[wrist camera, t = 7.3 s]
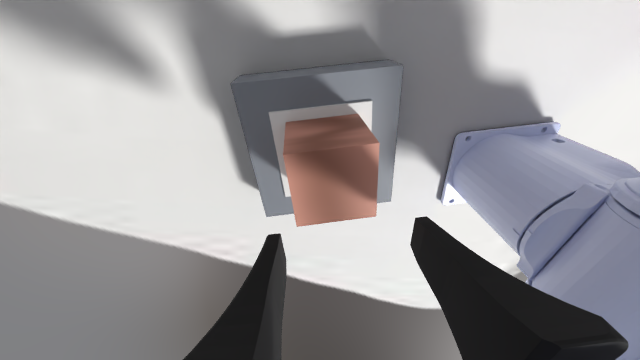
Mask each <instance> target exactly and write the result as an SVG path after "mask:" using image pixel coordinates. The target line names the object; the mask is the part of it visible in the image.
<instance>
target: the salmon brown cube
mask: <svg viewBox="0 0 640 360" xmlns="http://www.w3.org/2000/svg"><path fill="white" fill-rule="evenodd" d="M379 144H380V143H379V142H378V140H377V139H376V137H375V136H374V135H373V133H372V132H371V131H370V129H369V128H368V127H367V125H366V124H365V122H364V121H363V120H362V118H361V117H360V116H359V114H350V115H341V116H333V117H325V118H316V119H308V120H299V121H291V122H286V124H285V136H284V148H283V158H284V163H285V168H286V173H287V178H288V183H289V189H290V194H291V199H292V204H293V209H294V215H295V220H296V225H297V227H298V226H306V225H314V224H321V223H329V222H336V221H344V220H352V219H359V218H367V217H375V216H376V210H377V188H378V166H379Z"/></svg>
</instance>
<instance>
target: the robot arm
mask: <svg viewBox="0 0 640 360" xmlns="http://www.w3.org/2000/svg"><path fill="white" fill-rule="evenodd" d="M559 129H560V124H559V123H557V122H548V123H540V124H531V125H523V126H514V127H506V128H497V129H489V130H480V131H472V132H463V133H459V134H458V135H457V136H456V138H455V141H454V145H453V150H452V154H451V158H450V163H449V167H448V171H447V175H446V180H445V184H444V188H443V193H442V197H441V203H442V204H443V205H452V204H460V203H468V204H469V205H470V206H471V207H472V208H473V209H474V210H475V211H476V212H477V213H478V214H479V215H480V216H481V217H482V218H483V219H484V220H485V221H486V222H487V223H488V224H489V225H490V226H491V227H492V228H493V229H494V230H495V231H496V232H497V233H498V234H499V235H500V236H501V237H502V238H503V239H504V241H505V242H506V243H507V244H508V245H509V246H510V247H511V248H512V249H513V250H514V251H515V252H516V253H517V254H518V255H519V256H520V260H519V262H518V264H517V267H518V268H519V269H520V270H521V271H522V272H523V273H524V274H525V275H526V276H527V277H528V279H527V280H526V282H523V281H521V280H519V279H517V278H515V277H513V276H512V275H510V274H508V273H506V272H504V271H503V270H501V269H499V268H498V267H496V266H494V265H493V264H491V263H489V262H488V261H486V260H485V259H483V258H482V257H480V256H479V255H477V254H476V253H474V252H473V251H471V250H470V249H469V248H467V247H466V246H464V245H463V244H462V243H460V242H459V241H458V240H456V239H455V238H454V237H452V236H451V235H450V234H448V233H447V232H446V231H445V230H443V229H442V228H441V227H439V226H438V225H437V224H436V223H434V222H433V221H432V220H431V219H429V218H428V217H419V218H415V223H414V228H413V234H412V239H411V244H410V245H411V248H412V250H413V253H414V256H415V258H416V261H417V263H418V265H419V267H420V269H421V270H422V272H423V274H424V276H425V278H426V280H427V282H428V283H429V285H430V287H431V289H432V291H433V293H434V294H435V296H436V298H437V300H438V302H439V304H440V306H441V308H442V310H443V312H444V315H445V317H446V319H447V322H448V324H449V326H450V329H451V331H452V333H453V336H454V338H455V341H456V343H457V346H458V348H459V351H460V354H461V356H462V359H463V360H640V172H639V171H637V170H636V169H635V168H634V167H633V166H631V165H629V164H628V163H626V162H624V161H621V160H619V159H617V158H614V157H612V156H609V155H607V154H604V153H602V152H600V151H597V150H595V149H592V148H590V147H587V146H585V145H582V144H580V143H578V142H575V141H573V140H570V139H568V138H565V137H563V136H561V135H558V134H557V133H558V131H559ZM467 136H468V138H467V139H466V137H467ZM465 139H466V140H465ZM451 199H452V200H451ZM285 287H286V257H285V252H284V248H283V243H282V239H281V234H271V235H268V236H267V238H266V240H265V243H264V245H263V248H262V250H261V252H260V254H259V256H258V258H257V260H256V262H255V264H254V266H253V268H252V270H251V272H250V273H249V275H248V277H247V278H246V280H245V282H244V284H243V285H242V287H241V288H240V290H239V291H238V293H237V294H236V296H235V298H234V299H233V300H232V302H231V303H230V305H229V306H228V307H227V309H226V310H225V311H224V313H223V314H222V315H221V317H220V318H219V319H218V321H217V322H216V323H215V324H214V326H213V327H212V328H211V329H210V330H209V331H208V333H207V334H206V335H205V336H204V337H203V339H202V340H201V341H200V342H199V343H198V344H197V345H196V346H195V348H194V349H193V350H192V351H191V352H190V353H189V354H188V355H187V356H186V357H185V358H184V359H183V360H281V335H282V334H281V333H282V318H283V308H284V298H285Z"/></svg>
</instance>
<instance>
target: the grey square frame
mask: <svg viewBox="0 0 640 360" xmlns="http://www.w3.org/2000/svg"><path fill="white" fill-rule="evenodd" d="M402 75H403V65H402V64H399V63H396V62H393V61H390V60H380V61H371V62H362V63H352V64H343V65H334V66H324V67H315V68H305V69H296V70H287V71H277V72H268V73H259V74H249V75H240V76H238V77H237V78H236V79H235V80H234V81H233V82H232V83H231V87H232V91H233V95H234V99H235V102H236V106H237V110H238V113H239V117H240V121H241V125H242V128H243V132H244V136H245V139H246V143H247V147H248V150H249V154H250V158H251V162H252V165H253V169H254V173H255V176H256V180H257V184H258V188H259V191H260V195H261V199H262V202H263V206H264V210H265V213H266V217H270V216H278V215H285V214H293V213H294V209H293V204H292V199H291V194H290V189H289V183H288V178H287V173H286V168H285V163H284V158H283V148H284V136H285V124H286V122H291V121H299V120H308V119H316V118H325V117H333V116H341V115H350V114H359V116H360V117H361V118H362V120H363V121H364V122H365V124H366V125H367V127H368V128H369V129H370V131H371V132H372V133H373V135H374V136H375V137H376V139H377V140H378V142H379V143H380V144H379V166H378V188H377V203H381V202H389V201H391V195H392V184H393V173H394V162H395V151H396V141H397V130H398V119H399V108H400V97H401V86H402Z"/></svg>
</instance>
